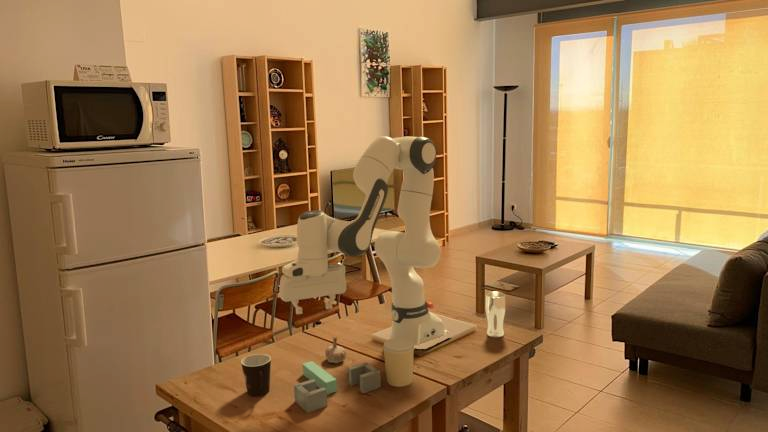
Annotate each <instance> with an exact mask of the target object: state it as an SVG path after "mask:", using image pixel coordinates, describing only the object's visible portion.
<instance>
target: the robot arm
mask: <svg viewBox="0 0 768 432" xmlns="http://www.w3.org/2000/svg"><path fill="white" fill-rule="evenodd" d="M436 159H437V148H436V145H435V142H434V141H433V140H432V139H430V138H428V137H425V136H407V135H406V136H401V137H400V136H399V137H389V136H387V135H380V136H378V137H377V138H375V139H374V140H373V141H372V142H371V144H370V145H369V146H367V148H366V149H365V151H364V152H363V154H362V155H361V156H360V158H359V160H358V162H357V163H356V164H355V167H354V170H353V173H352V177H353V181H354V183H355V185H356V187H357V188H358V189H359V190H360V191H361V192H362V193H363V194H365V198H364V201H363V203H362V206H361V208H360V211H359V212H358V215H357V217H356V218H355V219H353V220H351V221H349V220H348V221H347V220H342V219H339V218H338V219H337V218H334V217H331V216H329V215H328V214H326V213H325V212H324V211H322V210H319V209H317V210H315V209H314V210H309V211H305V212H303V213H301V214H300V215H299V217H298V219H297V226H296V243H297V246H298V252H297V259H296V260H294V261H291V262H289V263H287V264H285V265H283V266H281V267H282V268H281V272H282V275H281V276H280V278H279V279H280V280H279V288H278V289H279V290H278V291H279V298H280V299H281V300H282V301H283V302H285V303H287V302H291V304H292V305H293V306H294V308H295V314H296V315H302V314H303V307H302V306H299V302H300V301H299V300H306V299H312V298H313V299H314V298H321V297H326V296H328V297H329V299H328V300H327V302H325V309H326V310H332V309H333V303H334V301H335V299H336V295H340V294H345V293H346V291H347V279H346V276H345V275H346V272H347V271H346V266H345V265H344V264H342V263H341V262H336V263H329V260H328V259H329V257H328V252H329V251H333V252H336V253H341V254H344V255H346V256H349V257H352V258H357V257H361V256H363V255H364V254H365V253H366V252H367V251H368V250H369V248H370V246H371V244H372V239H373V234H374V231H375V227H376V225H377V223H378V220H379V217H380V215H381V213H382V210H383V208H384V205H385V203H386V200H387V197H388V192H389V187H388V181H389V179H390V177H391V176H392V174H393V172H394V170H395V169H396V170H402V171H403V178H402V179H403V180H402V183H401V186H400V187H401V188H400V192H399V193H400V194H399V199H398V204H397V210H396V211H397V215H398V217H399V218H400V219H401V220H402V221H403V223H404V227H405V232H403V231H395V230H392V231H383V232H381V233H379V234H378V236H377V238H376V239H375V240H374V241H375V242H374V252H375V254H376V256H377V257H378V258H379V259H380V260H381V261H382V263H383V265H384V266H385V268H386V271H387V274H388V276H389V279H390V284H391V293H392V296H391V297H392V302H391V318H392V323H391V324H392V326H391V332H390V337H389V339H393V338H406V339H409V340H411V341H412V342H413V344H414V345H418V346H419V345H420V344H422V343H425V342H428V341H430V340H433V339H436V338H440V337H441V336H443V335H445V334H446V333H445V332H447V331H448V330H447V329H445V325H444V322H443V320H442V319H441V318H440V317H438V316H437V315H436V314H434V313H433V312H431V311H430V310H433V309H434V308H435V304H434V303H432V302H430V301H429V302H427V301H425V283H424V280H423V278H422V277H421V276H420V275H419V274H418V273H417V272H416V271H415V268H416V269H417V268H418V269H425V268H426V269H427V268H434V267H435V266H436V265H437V264H438V263H439V261H440V259H441V257H442V256H441V255H442V250H441V249H442V248H441V245H440V243H439V241H438V240H437V239H436V237H435V236H434V235H433V232H432V229H431V221H430V218H431V217H430V214H431V207H432V202H433V201H432V200H433V194H434V186H435V185H434V184H435V178H434V177H435V175H434V174H435V173H434V168H433V167H434V164H435V162H436ZM429 309H430V310H429Z"/></svg>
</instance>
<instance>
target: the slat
mask: <svg viewBox="0 0 768 432" xmlns="http://www.w3.org/2000/svg"><path fill="white" fill-rule="evenodd" d="M302 375H303V376H304V377H305V378H307V379H308V381H309V380H312V379H314V380H315V381H316V388H318V389H320V388H323V387H324V388H325V389H327V395H330V394H333V393H335V392H338V388H337V387H338V385H337V384H338V383H337V379H336V378H335V377H334V376H332V375H331V374H330V373H328V372H327V371H326V370H325V369H323V368H322V367H321V366H320V365H318V364H317V363H315V362H314V361H313V360H311V361H307V362H303V363H302Z"/></svg>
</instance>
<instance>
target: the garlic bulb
mask: <svg viewBox="0 0 768 432" xmlns="http://www.w3.org/2000/svg"><path fill="white" fill-rule="evenodd" d="M337 339H338V338H337V337H336V336H335V337H333V341H332V342H333V343H332V345H330V346H327V348H326V349H325V351H324V354H325V357H326V360H327V361H328V362H329V363H331V364H333V363H334V364H338V363H342V362H344V361H345V359H346V353H347V352H346V350H345V348H344V347H342V346H340V345H337Z"/></svg>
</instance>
